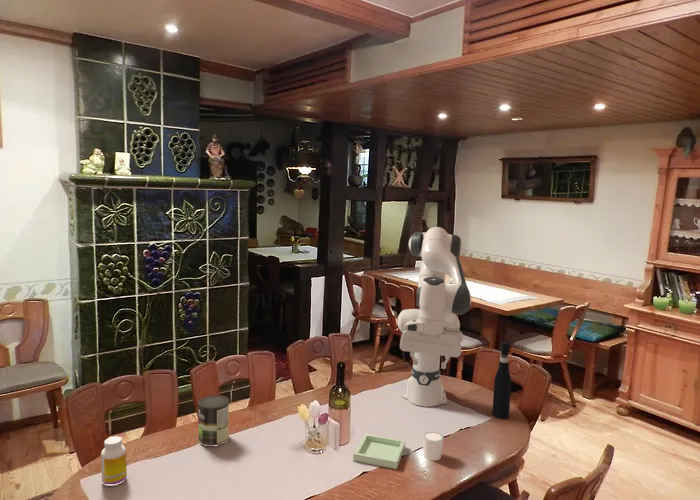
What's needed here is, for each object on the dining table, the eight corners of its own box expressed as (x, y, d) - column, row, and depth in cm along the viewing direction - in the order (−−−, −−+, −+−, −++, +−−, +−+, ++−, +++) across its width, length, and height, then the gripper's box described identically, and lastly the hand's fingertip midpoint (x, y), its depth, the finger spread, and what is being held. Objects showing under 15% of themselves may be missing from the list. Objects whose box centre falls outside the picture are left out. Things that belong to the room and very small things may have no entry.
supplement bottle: (130, 481, 145) (129, 440, 143) (107, 490, 140) (106, 448, 139) (120, 472, 149) (119, 432, 148) (98, 481, 144) (96, 440, 143)
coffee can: (201, 449, 163) (201, 409, 162) (195, 436, 172) (195, 397, 171) (232, 443, 168) (232, 404, 166) (225, 430, 177) (225, 393, 175)
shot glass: (442, 463, 159) (443, 442, 159) (421, 460, 161) (422, 440, 160) (442, 452, 166) (443, 432, 165) (422, 449, 167) (423, 430, 167)
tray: (364, 439, 173) (364, 433, 173) (404, 447, 169) (405, 440, 168) (353, 460, 159) (353, 453, 159) (396, 469, 155) (396, 462, 155)
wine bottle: (510, 419, 192) (515, 345, 188) (493, 418, 192) (498, 344, 189) (507, 412, 198) (512, 340, 194) (491, 411, 199) (495, 339, 195)
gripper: (463, 327, 163) (461, 367, 164) (403, 321, 169) (401, 360, 170) (462, 331, 157) (460, 373, 158) (399, 325, 163) (398, 365, 164)
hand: (429, 366), depth 164 cm, fingers open, 8 cm apart
